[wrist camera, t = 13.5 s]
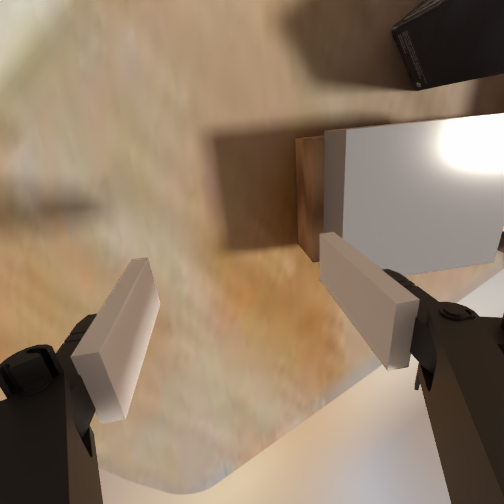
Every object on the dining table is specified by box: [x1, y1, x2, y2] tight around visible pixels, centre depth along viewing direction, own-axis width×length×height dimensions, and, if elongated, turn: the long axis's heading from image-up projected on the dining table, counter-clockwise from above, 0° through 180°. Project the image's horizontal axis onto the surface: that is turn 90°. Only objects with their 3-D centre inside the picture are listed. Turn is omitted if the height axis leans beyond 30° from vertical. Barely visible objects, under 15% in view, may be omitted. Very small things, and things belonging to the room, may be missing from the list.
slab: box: [324, 113, 504, 276], centre depth 24 cm, size 12×14×4 cm
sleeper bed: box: [295, 135, 324, 262], centre depth 28 cm, size 11×19×5 cm, turn 95°
